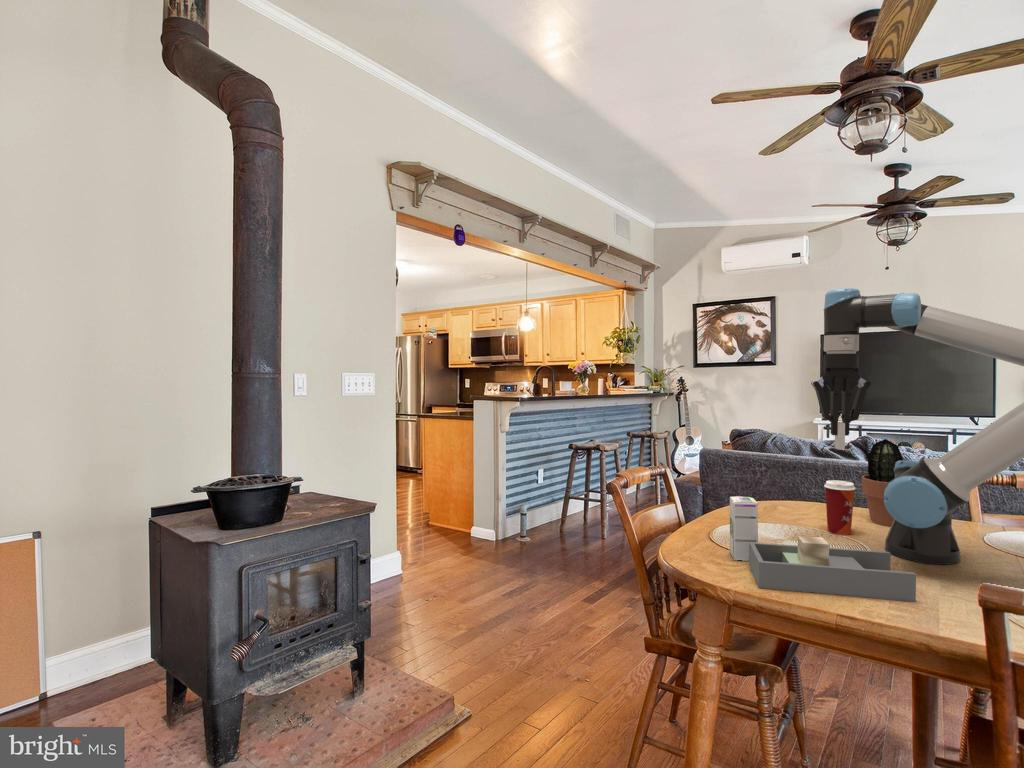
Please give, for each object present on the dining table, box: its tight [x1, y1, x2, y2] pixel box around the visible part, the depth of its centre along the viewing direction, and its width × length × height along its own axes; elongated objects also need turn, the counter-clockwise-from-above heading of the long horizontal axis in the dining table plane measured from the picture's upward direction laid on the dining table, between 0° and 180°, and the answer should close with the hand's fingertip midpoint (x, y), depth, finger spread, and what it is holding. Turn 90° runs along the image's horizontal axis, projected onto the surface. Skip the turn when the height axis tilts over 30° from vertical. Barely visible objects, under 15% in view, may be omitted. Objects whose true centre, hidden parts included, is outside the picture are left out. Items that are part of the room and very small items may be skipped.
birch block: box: [797, 535, 830, 566], centre depth 124 cm, size 5×5×5 cm
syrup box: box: [729, 495, 759, 562], centre depth 140 cm, size 6×6×14 cm
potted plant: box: [861, 438, 904, 527], centre depth 170 cm, size 14×14×25 cm
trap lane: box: [748, 542, 917, 602], centre depth 124 cm, size 29×14×6 cm, turn 75°
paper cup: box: [823, 479, 856, 536], centre depth 161 cm, size 8×8×14 cm
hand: (839, 448), depth 141 cm, fingers closed
